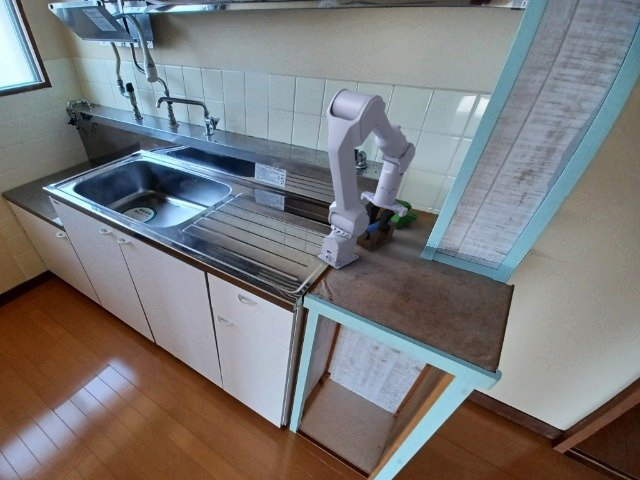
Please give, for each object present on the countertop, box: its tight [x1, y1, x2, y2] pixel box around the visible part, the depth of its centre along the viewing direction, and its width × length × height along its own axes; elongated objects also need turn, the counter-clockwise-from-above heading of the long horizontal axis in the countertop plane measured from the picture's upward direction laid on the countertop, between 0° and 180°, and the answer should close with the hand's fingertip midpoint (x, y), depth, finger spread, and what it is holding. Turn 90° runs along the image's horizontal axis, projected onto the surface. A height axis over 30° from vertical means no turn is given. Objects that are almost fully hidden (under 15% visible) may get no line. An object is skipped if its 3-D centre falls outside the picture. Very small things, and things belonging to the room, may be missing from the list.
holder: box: [356, 214, 397, 252], centre depth 102 cm, size 11×7×6 cm, turn 125°
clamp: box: [391, 198, 419, 229], centre depth 110 cm, size 12×6×9 cm, turn 170°
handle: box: [360, 219, 392, 239], centre depth 101 cm, size 12×3×3 cm, turn 125°
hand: (375, 228), depth 101 cm, fingers closed on handle, 3 cm apart
